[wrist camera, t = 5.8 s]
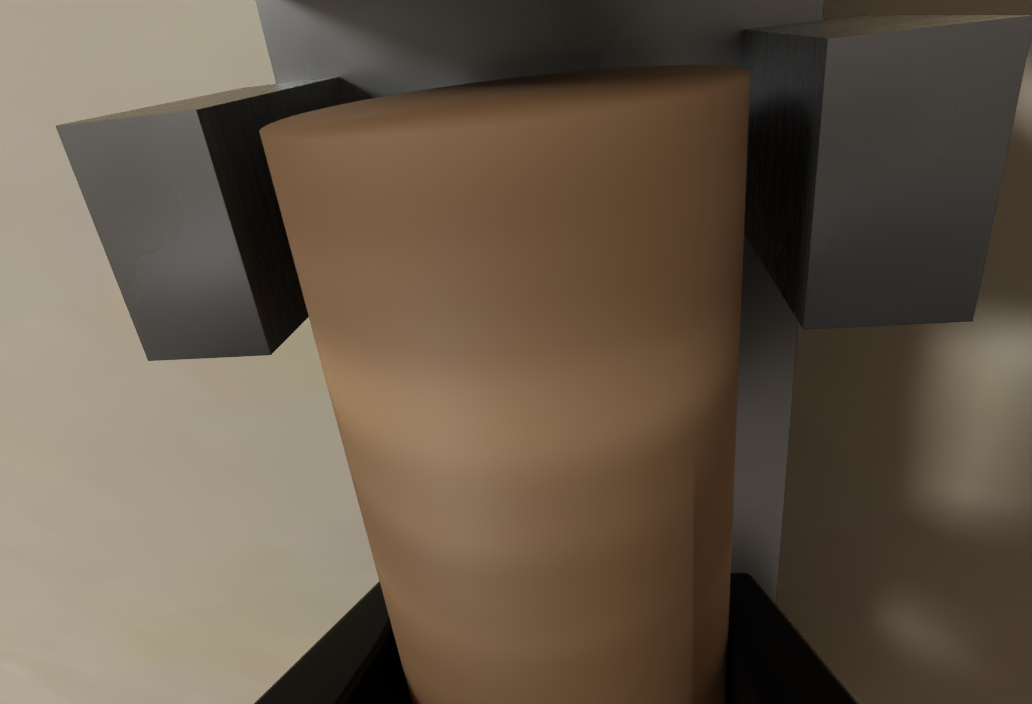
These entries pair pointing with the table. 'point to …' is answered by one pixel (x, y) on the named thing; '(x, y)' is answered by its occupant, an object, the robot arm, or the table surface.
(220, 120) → the cradle
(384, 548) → the cylinder
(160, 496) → the table surface
